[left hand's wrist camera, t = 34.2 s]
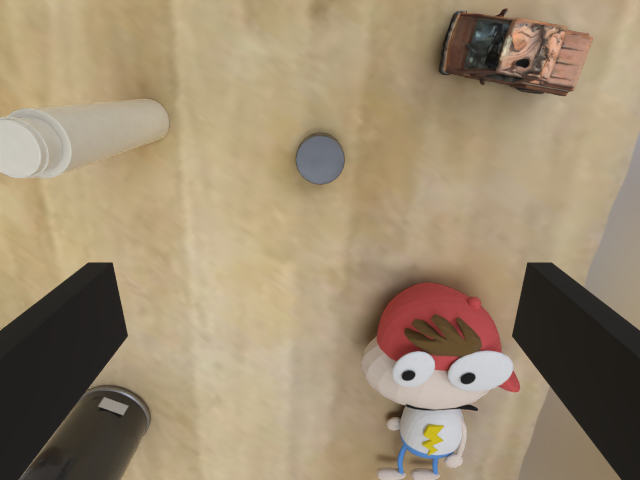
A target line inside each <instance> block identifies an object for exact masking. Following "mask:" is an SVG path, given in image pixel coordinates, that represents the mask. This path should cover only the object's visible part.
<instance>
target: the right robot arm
mask: <svg viewBox="0 0 640 480" xmlns="http://www.w3.org/2000/svg"><path fill="white" fill-rule="evenodd" d="M149 425H150V413H149V410H148V408H147V406H146V405H145V403H144V402H143V401H142V400H141V399H140V398H139V397H138V396H136V395H135V394H133V393H132V392H130V391H128V390H125V389H122V388H119V387H113V386H101V387H96V388H93V389H91V390H89V391H87V392H86V393H84V394H83V396H82V397H81V398H80V400H79V401H78V402H77V404H76V406H75V407H74V409H73V410H72V411H71V412H70V414H69V415H68V416H67V418H66V419H65V420H64V421H63V423H62V424H61V425H60V427H59V428H58V429H57V431H56V432H55V433H54V435H53V436H52V437H51V438H50V440H49V441H48V442H47V444H46V445H45V446H44V448H43V449H42V450H41V452H40V453H39V454H38V456H37V457H36V458H35V460H34V461H33V462H32V464H31V465H30V466H29V467H28V469H27V470H26V471H25V473H24V474H23V475H22V477H21V478H20V479H19V480H121V479H122V477H123V475H124V473H125V471H126V469H127V467H128V465H129V463H130V461H131V459H132V457H133V455H134V453H135V451H136V449H137V447H138V445H139V443H140V441H141V439H142V437H143V436H144V435H145V433H146V431H147V429H148V427H149Z"/></svg>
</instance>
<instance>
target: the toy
mask: <svg viewBox="0 0 640 480" xmlns="http://www.w3.org/2000/svg"><path fill="white" fill-rule="evenodd" d="M361 369H362V372H363V374H364V376H365V378H366V379H367V381H368V383H369V384H370V385H371V386H372V387H373V388H374V389H375V390H377V391H378V392H379V393H380V394H381V395H383V396H384V397H386V398H388V399H390V400H392V401H394V402H396V403H398V404H402V405H405V408H404V410H403V414H402V417H401V418H399V417H393V418H391V419H389V420H388V421H387V427H388V429H390V430H393V431H395V430H399V429H400V435H401V440H402V442H403V446H402V448H401V450H400V452H399V456H398V469H397V468H380V469H378V470H377V472H376V473H377V477H378V478H379V479H381V480H400V479H402V478H404V477H405V476H406V473H405V472H404V471H403V466H402V461H403V456H404V454H405V451H406V449H407V450H409V451H410V452H411V453H413V454H415V455H417V456H420V457H424V458H430V459H433V463H432V467H433V470H432V469H426V468H417V469H413V470H412V471H411V476H412V478H413V479H414V480H436V479H438V478H439V477H440V474H439V473H438V470H437V463H438V458H442V457H445V456H447V457H446V458H445V464H446V466H448V467H450V468H456V467H458V466H460V465H461V464H462V462H463V457H462V453H463V450H464V447H465V443H466V436H467V428H466V425H465V423H464V418H463V414H462V412H461V409H468V410H474V411H478V409H477V408H476V407H474V406H472V405H469V404H471V403H473V402H475V401H476V400H478V399H479V398H481V397H482V396H484V395H485V394H486V393H488V391H489V390H490V389H493V388H495V387H497V386H499V387H501V388H503V389H505V390H507V391H511V392H519V390H520V385H519V381H518V379H517V377H516V375H515V373H514V371H513V362H512V361H511V360H510V358H509V357H507V356H506V355H504V354H502V353H501V344H500V338H499V334H498V331H497V328H496V326H495V324H494V322H493V320H492V318H491V317H490V315H489V314H488V312H487V311H486V310H485V309H484V308H483V307H482V306H481V301H480V300H479V299H478V298H477V297H471V298H470V297H468V296H467V295H465V294H463V293H461V292H459V291H457V290H454V289H452V288H450V287H447V286H443V285H440V284H437V283H420V284H416V285H413V286H411V287H409V288H407V289H405V290H403V291H402V292H400V293H399V294H397V295H396V296H395V297H394V298H393V299H392V300H391V301H390V302H389V303H388V305H387V307H386V308H385V310H384V312H383V314H382V316H381V319H380V323H379V327H378V332H377V336H376V337H375V338H374V339H373V340H372V341H371V342H370V343H369V344H368V345H367V346H366V347H365V349H364V351H363V354H362V362H361ZM458 447H459V448H458ZM457 449H458V451H457V454H454V453H453V452H454V451H455V450H457ZM452 453H453V454H452Z"/></svg>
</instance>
